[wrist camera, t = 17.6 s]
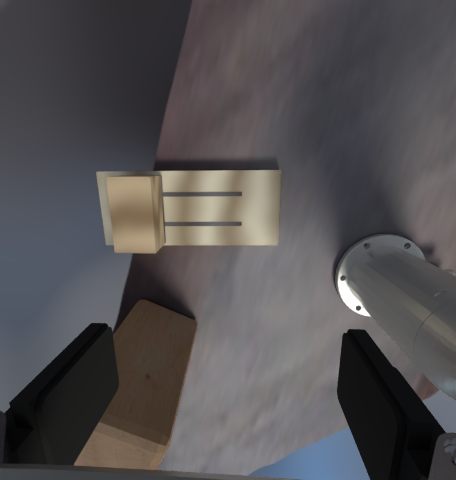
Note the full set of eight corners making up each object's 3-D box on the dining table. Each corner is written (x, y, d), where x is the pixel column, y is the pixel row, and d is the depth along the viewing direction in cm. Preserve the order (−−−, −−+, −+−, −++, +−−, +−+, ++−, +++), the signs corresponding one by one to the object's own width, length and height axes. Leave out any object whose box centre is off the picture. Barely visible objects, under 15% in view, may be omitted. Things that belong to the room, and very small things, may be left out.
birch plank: (279, 169, 36) (281, 170, 34) (276, 242, 38) (278, 245, 37) (101, 171, 36) (95, 171, 35) (110, 242, 39) (105, 245, 37)
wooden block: (200, 319, 42) (171, 449, 23) (176, 367, 44) (132, 521, 25) (140, 294, 41) (56, 407, 22) (120, 345, 44) (28, 487, 24)
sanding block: (123, 175, 35) (105, 176, 30) (162, 175, 35) (150, 176, 30) (130, 241, 37) (114, 252, 32) (166, 242, 37) (155, 253, 32)
